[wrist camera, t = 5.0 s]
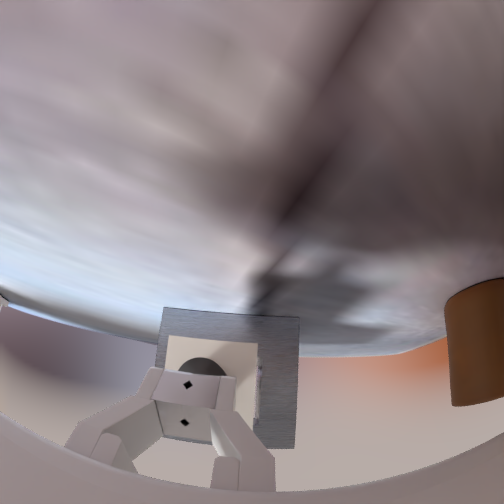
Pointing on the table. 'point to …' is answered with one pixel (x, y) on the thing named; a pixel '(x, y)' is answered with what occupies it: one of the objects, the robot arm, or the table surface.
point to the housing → (268, 361)
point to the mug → (476, 343)
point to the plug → (218, 365)
